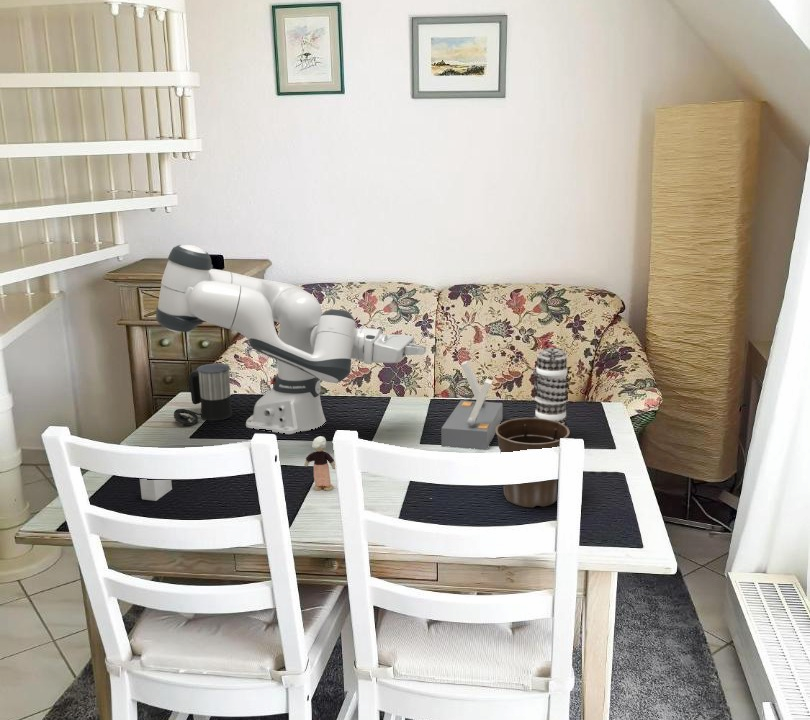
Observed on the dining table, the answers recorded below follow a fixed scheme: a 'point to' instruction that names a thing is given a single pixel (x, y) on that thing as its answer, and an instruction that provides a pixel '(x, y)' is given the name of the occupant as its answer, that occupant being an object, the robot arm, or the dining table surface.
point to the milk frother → (208, 394)
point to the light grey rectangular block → (154, 488)
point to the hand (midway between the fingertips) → (425, 350)
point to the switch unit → (471, 436)
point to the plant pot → (526, 437)
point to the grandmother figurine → (321, 464)
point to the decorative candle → (551, 385)
